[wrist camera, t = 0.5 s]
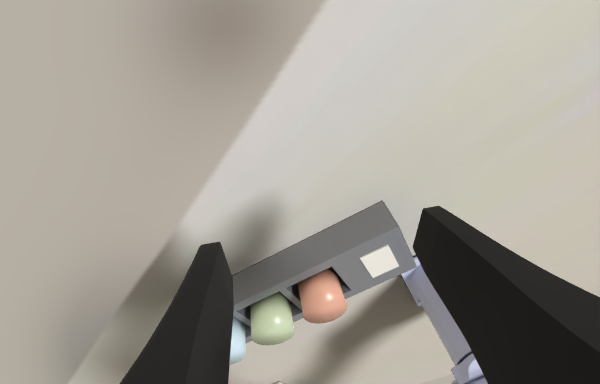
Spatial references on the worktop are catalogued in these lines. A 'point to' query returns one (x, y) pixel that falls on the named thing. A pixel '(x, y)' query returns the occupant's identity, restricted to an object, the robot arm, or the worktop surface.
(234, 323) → the blue button
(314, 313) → the terracotta button
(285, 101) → the worktop surface
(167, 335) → the robot arm
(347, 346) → the worktop surface
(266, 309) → the sage button
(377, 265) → the console
